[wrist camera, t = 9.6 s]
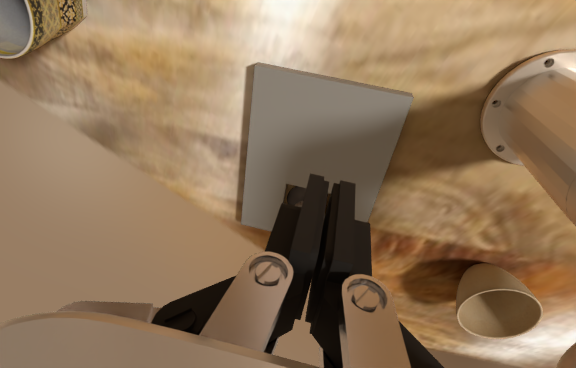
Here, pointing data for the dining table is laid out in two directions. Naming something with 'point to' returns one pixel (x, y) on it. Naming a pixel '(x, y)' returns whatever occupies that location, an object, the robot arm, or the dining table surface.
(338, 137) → the grey flat plate
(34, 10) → the ceramic cup
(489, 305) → the flower pot
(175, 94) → the dining table surface
